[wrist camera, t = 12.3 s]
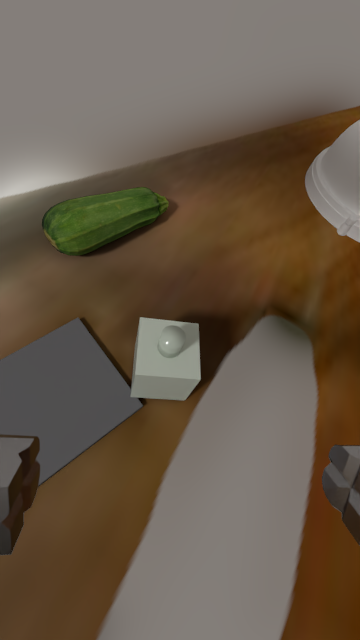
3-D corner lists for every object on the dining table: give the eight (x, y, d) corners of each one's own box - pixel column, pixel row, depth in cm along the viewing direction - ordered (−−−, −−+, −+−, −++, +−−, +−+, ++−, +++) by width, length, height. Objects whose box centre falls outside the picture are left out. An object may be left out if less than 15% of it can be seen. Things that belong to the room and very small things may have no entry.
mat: (-57, 394, 31) (-60, 392, 31) (78, 319, 38) (78, 317, 37) (2, 513, 27) (0, 514, 27) (142, 406, 34) (142, 405, 33)
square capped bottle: (130, 397, 34) (137, 364, 26) (135, 346, 37) (142, 304, 29) (184, 400, 35) (207, 370, 27) (184, 351, 38) (204, 311, 30)
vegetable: (31, 199, 36) (164, 160, 44) (34, 223, 42) (149, 185, 50) (62, 254, 36) (187, 206, 45) (59, 269, 43) (169, 224, 51)
